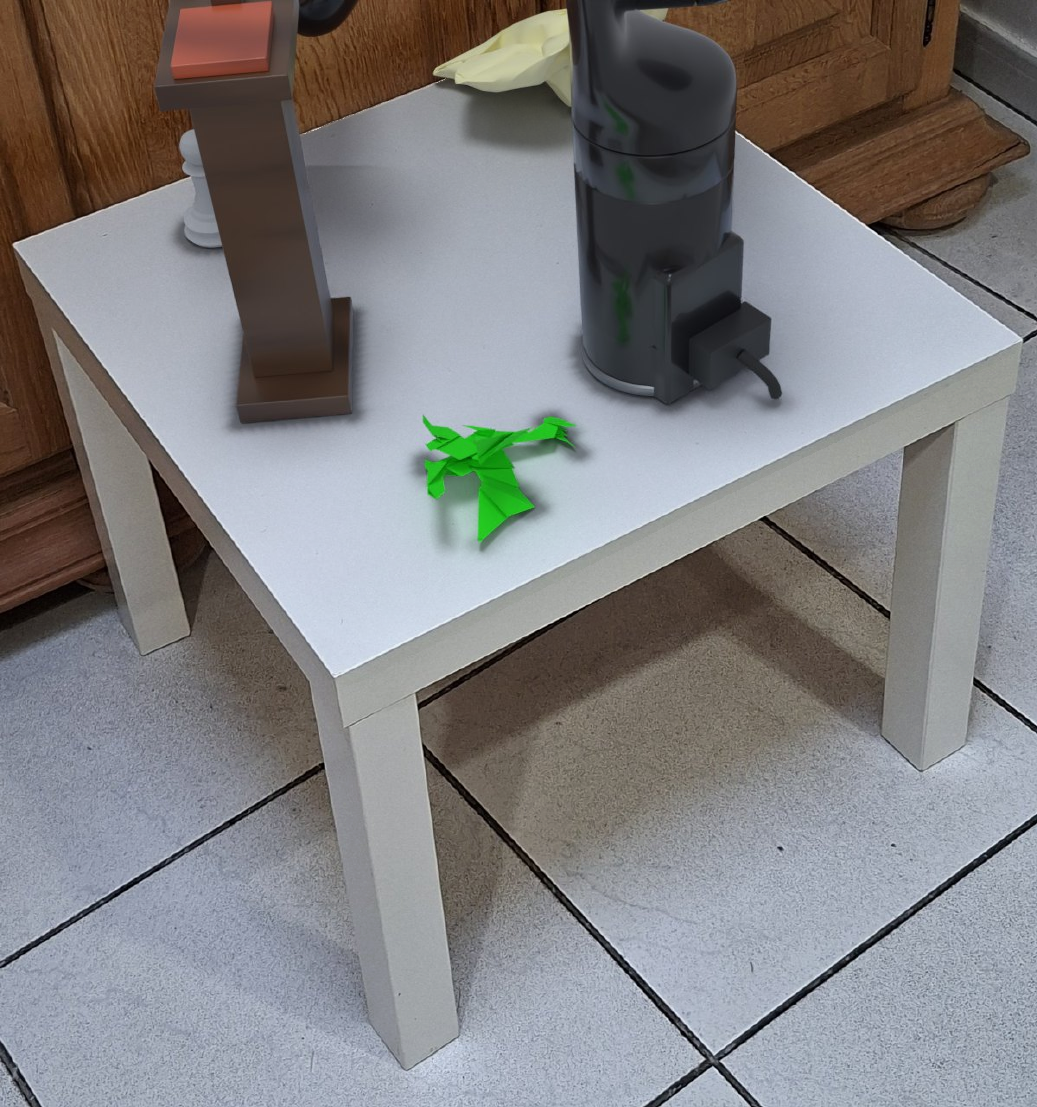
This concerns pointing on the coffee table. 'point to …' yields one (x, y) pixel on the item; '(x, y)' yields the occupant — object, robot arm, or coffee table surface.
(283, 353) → the wooden pedestal stand
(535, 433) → the figurine
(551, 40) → the cloth
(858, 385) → the coffee table surface
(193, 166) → the chess piece
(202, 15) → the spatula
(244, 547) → the coffee table surface
